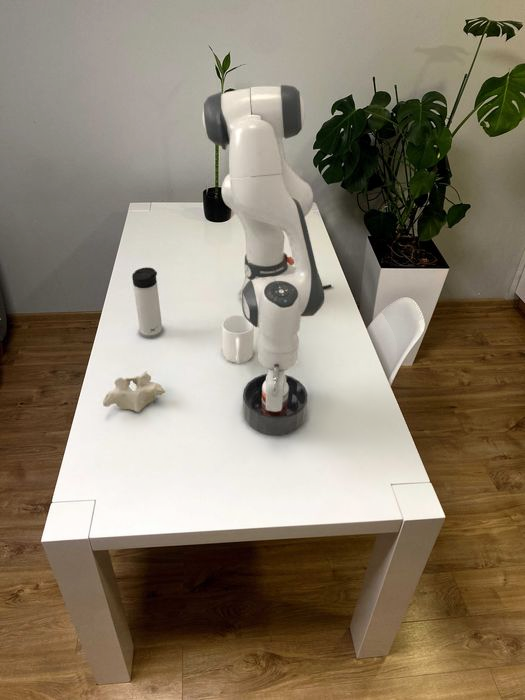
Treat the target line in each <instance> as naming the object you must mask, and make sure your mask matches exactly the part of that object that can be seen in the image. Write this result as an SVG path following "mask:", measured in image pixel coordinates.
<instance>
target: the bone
mask: <svg viewBox="0 0 525 700" xmlns="http://www.w3.org/2000/svg"><path fill="white" fill-rule="evenodd" d="M151 380H152V377H151V375H150V374H149V373H148V371H147V370H146V371H143V373H142V374H140V375H136V376H134V377H125V378H123V377H118V378H117V379H115V380H114V386H115V388H114V389H112V390H110V391H108V392H106V394H105V395H104V398H103V401H102V405H103V407H107V408H108V407H110V406H112V405H116V407H118V408H119V409H121V410H132V411H134V412H136V413H139V412H140V411H142V409H143V408H145V407H146V406H147V405H148V404H150V403H152V402H154V401H155V400H156V397H157V396H161V395H163V394H165V393H166V392H165V389H164V387H163V386H162V385H161V384H159V383H158V382H153V381H151ZM131 382H132V383H133V384H135V387H136V388H135V389H134V390H133V389H132V388H131V387H130V385H131Z"/></svg>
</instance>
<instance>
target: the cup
mask: <svg viewBox="0 0 525 700" xmlns="http://www.w3.org/2000/svg"><path fill="white" fill-rule="evenodd" d="M254 331H255V326H254V325H252V324H251V323H250V322H249V321H248V320H247V319H246V318H245V316H244V314H233V315H230V316H227V317H225V318H224V320H222V323H221V334H222V335H221V336H222V338H221V340H222V354H223V357H224V358H225V359H226V360H227V361H228V362H231V363H234V364H238V365H240V364H242V363H246V362H247V361H249V360H251V358H253V355H254V339H255V338H254V333H255V332H254Z"/></svg>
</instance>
